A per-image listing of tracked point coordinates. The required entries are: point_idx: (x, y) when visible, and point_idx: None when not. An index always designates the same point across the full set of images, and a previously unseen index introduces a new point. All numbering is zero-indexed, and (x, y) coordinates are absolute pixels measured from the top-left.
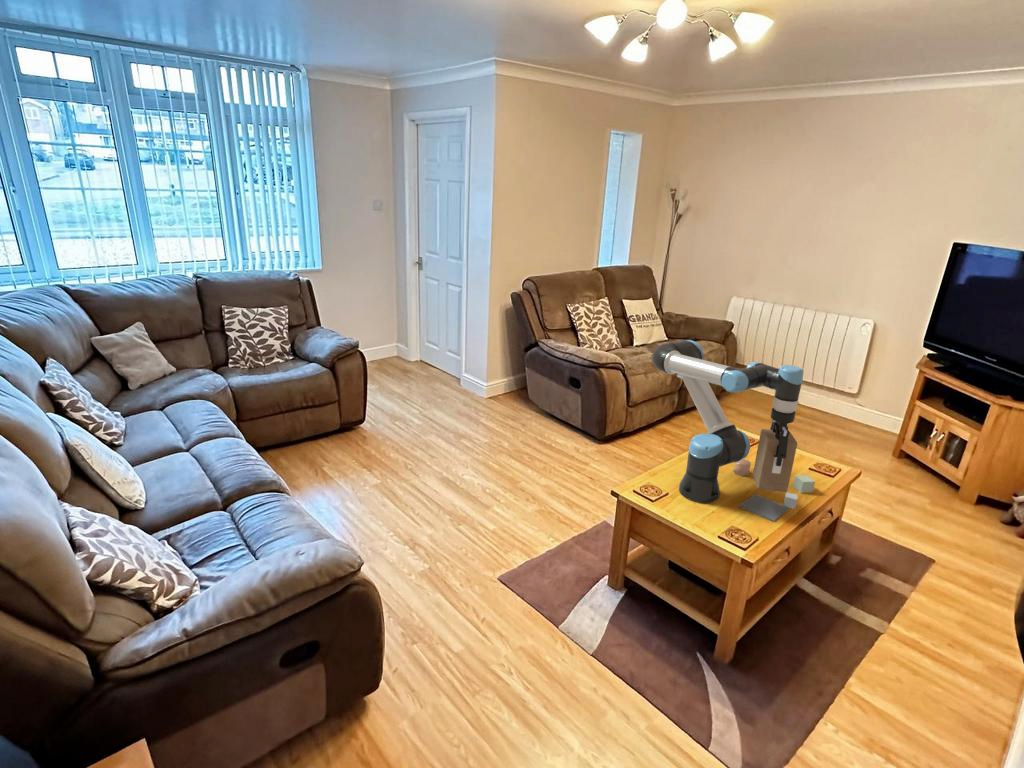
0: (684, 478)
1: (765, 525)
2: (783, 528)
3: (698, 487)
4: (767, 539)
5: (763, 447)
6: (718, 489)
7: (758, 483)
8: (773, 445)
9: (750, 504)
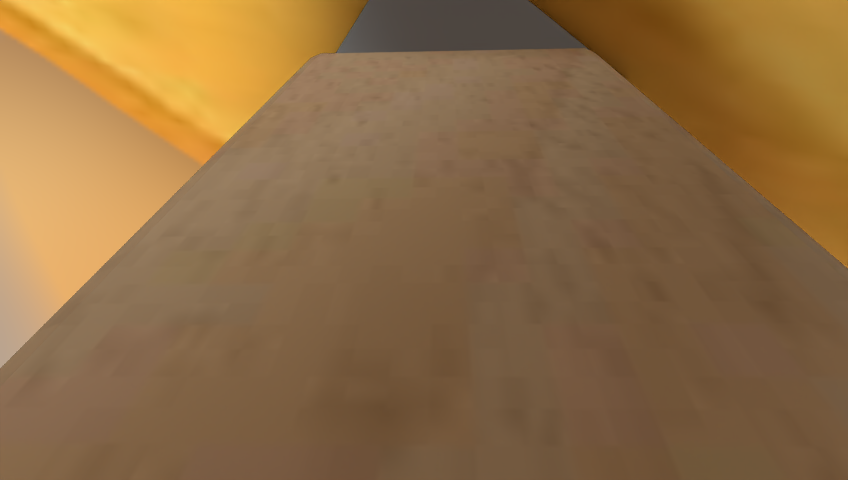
0: None
1: (223, 72)
2: None
3: None
4: (54, 51)
5: (269, 296)
6: None
7: (309, 64)
8: None
9: (458, 14)
